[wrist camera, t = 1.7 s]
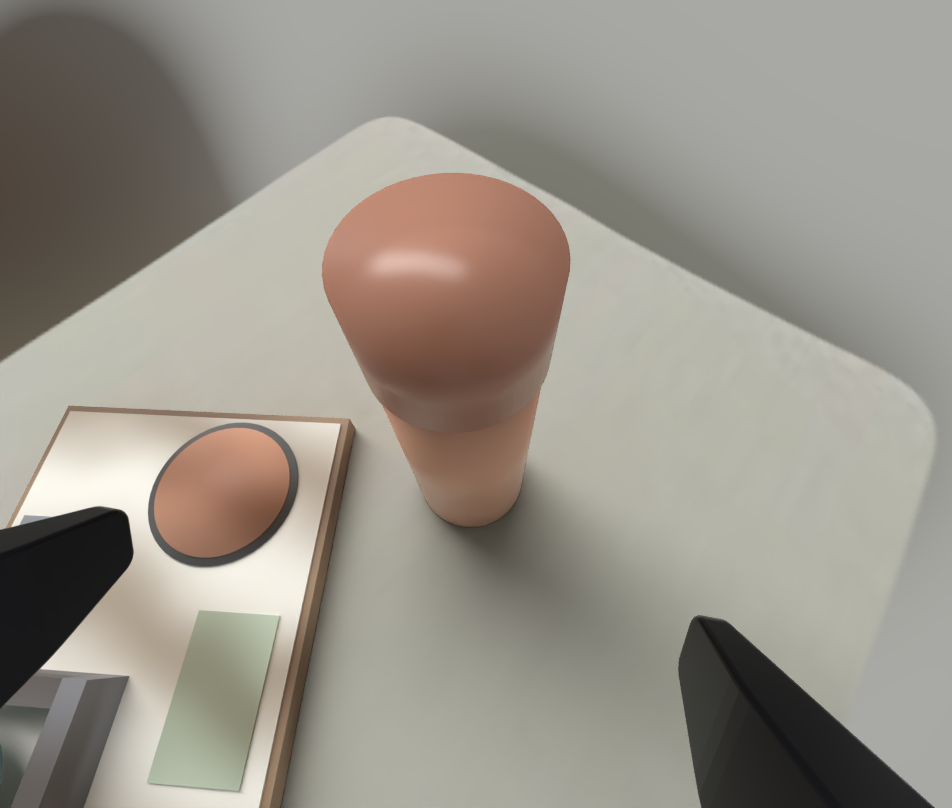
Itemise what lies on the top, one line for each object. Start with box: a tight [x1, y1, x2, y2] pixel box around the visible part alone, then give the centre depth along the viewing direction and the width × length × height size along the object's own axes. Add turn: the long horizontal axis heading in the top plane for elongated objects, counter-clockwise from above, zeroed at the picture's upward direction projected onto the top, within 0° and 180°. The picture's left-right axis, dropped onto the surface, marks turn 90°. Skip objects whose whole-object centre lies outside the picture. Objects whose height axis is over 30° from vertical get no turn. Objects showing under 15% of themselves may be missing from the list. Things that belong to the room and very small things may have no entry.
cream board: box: [0, 406, 355, 808], centre depth 17 cm, size 17×13×3 cm
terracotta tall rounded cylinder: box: [322, 173, 570, 527], centre depth 14 cm, size 5×5×13 cm
